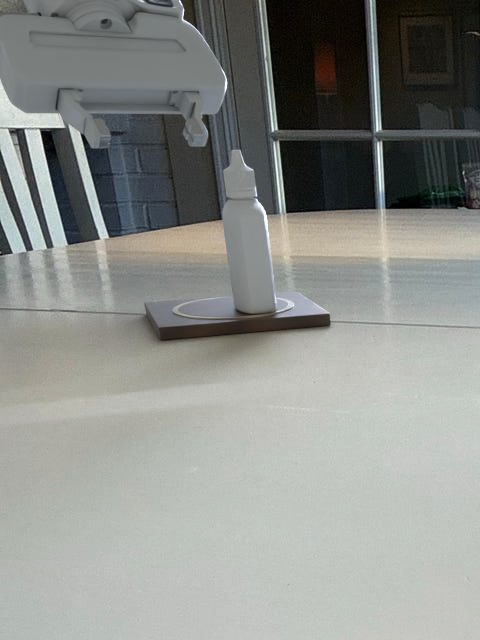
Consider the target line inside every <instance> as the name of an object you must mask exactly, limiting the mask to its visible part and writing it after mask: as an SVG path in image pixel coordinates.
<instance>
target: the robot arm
mask: <svg viewBox="0 0 480 640" xmlns="http://www.w3.org/2000/svg"><path fill="white" fill-rule="evenodd" d="M22 1H23V5H24V7H25V9H26V12H25V11H16V12H6V11H5V12H4V11H3V10H0V83H1V85H2V87H3V90H4V92H5V94H6V96H7V99H8V100H9V102H10V104H11V105H13V106H14V107H15V108H17V109H18V110H20V111H21V112H23V113H25V114H59V115H60V118H61V119H62V121H63V122H65V123H66V124H68V125H69V126H71V127H72V128H73V129H75V130H76V131H77V132H79V133H80V134H82V135H83V136H84V137H85V139H86V141H87V143H88V144H89V146H90V148H91V149H109V148H110V142H111V141H112V134H111V131H110V129H109V127H107V123H106V121H105V120H104V118H102V117H101V118H100V117H94V116H93V115H95V114H98V115H99V114H100V115H104V114H105V115H110V114H111V115H114V114H115V115H182V117H183V119H184V120H185V124H184V125H185V126H184V127H183V129H182V136H183V137H184V139H185V141H187V145H188V146H189V147H206V146H207V142H208V139H209V132H208V129H207V128H206V125H205V124H204V122H203V120H202V119H203V115H216V114H218V113H219V111H220V109H221V107H222V105H223V102H224V99H225V96H226V92H227V87H228V81H227V76H226V74H225V72H224V69H223V67H222V66H221V64H220V62H219V60H218V59H217V57H216V55H215V54H214V51H213V50H212V49H211V47H210V45H209V44H208V43H207V41H206V39H205V38H204V36H203V35H202V34H201V33H200V31H199V30H198V29H197V28H196V27H195V26H194V25H192V24H191V23H190V22H188V21H187V20H186V19H184V14H185V13H184V12H185V8H184V5H183V3H182V1H181V0H22Z"/></svg>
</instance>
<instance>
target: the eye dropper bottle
mask: <svg viewBox="0 0 480 640" xmlns="http://www.w3.org/2000/svg"><path fill="white" fill-rule="evenodd" d="M230 152H231V153H230V164H229V165H228V167H226V168H224V169H223V170H222V174H223V182H224V189H225V196H226V198H228V199H227V200H226V202H225V203H224V205H223V207H222V211H221V218H222V226H223V234H224V241H225V249H226V256H227V257H226V258H227V263H228V270H229V277H230V284H231V286H230V287H231V292H232V296H233V300H234V306H235V308H236V309H237V310H239V311H241V312H244V313H248V314H258V313H269V312H274V311H275V310H276V308H277V300H276V293H277V292H276V284H275V275H274V274H275V273H274V267H273V257H272V250H271V249H272V248H271V240H270V233H269V225H268V224H269V223H268V218H267V213H266V210H265V208H264V206H263V205H262V204H261V202H259V200H258V199H257V198H255V197H258V193H257V185H256V184H257V183H256V177H255V170H254V169H253V168H252V167H250V166H247V164H246V163H245V161H244V158H243V155H242V151H241V149H231V151H230Z"/></svg>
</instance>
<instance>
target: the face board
mask: <svg viewBox="0 0 480 640" xmlns="http://www.w3.org/2000/svg"><path fill="white" fill-rule="evenodd" d="M276 300H277V308H276V310H275V311H274V312H269V313H258V314H248V313H244V312H241V311H239V310H237V309H236V308H235V306H234V300H233V295H229V296H227V295H226V296H218V297H217V296H216V297H215V296H214V297H202V298H188V299H176V300H175V299H173V300H162V301H147V302H144V303H143V305H144V311H145V314H146V316H147V318H148V319H149V321H150V323H151V325H152V327H153V328H154V330H155V332H156V334H157V336H158V338H159V339H160V341H168V340H169V341H170V340H178V339H190V338H201V337H202V338H203V337H212V336H226V335H236V334H249V333H258V332H259V333H260V332H271V331H281V330H291V329H292V330H293V329H304V328H314V327H315V328H317V327H327V326H331V324H332V323H331V314H330V312H329V311H327V310H325V309H324V308H322V307H321V306H320V305H318V304H316V303H315V302H314V301H312V300H311V299H309V298H307V297H306V296H305V295H303V294H301V293H300V292H298V291H296V290H295V291H283V292H276Z"/></svg>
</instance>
